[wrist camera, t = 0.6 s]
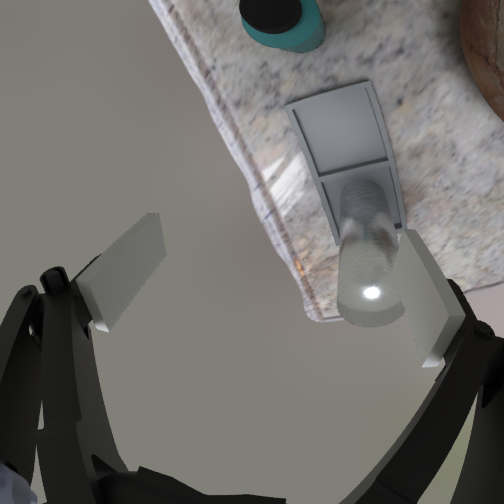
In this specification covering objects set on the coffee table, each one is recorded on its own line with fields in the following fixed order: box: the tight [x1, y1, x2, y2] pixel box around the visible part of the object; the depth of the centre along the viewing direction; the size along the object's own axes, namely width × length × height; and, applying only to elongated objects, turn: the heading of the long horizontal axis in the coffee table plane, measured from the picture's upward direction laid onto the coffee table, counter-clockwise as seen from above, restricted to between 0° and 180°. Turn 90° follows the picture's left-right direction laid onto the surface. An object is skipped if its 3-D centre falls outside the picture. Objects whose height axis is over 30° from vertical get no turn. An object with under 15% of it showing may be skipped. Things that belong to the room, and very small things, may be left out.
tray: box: [284, 80, 407, 246], centre depth 37 cm, size 12×22×2 cm, turn 25°
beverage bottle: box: [239, 0, 326, 54], centre depth 20 cm, size 6×7×20 cm
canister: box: [337, 179, 405, 327], centre depth 32 cm, size 7×7×20 cm
